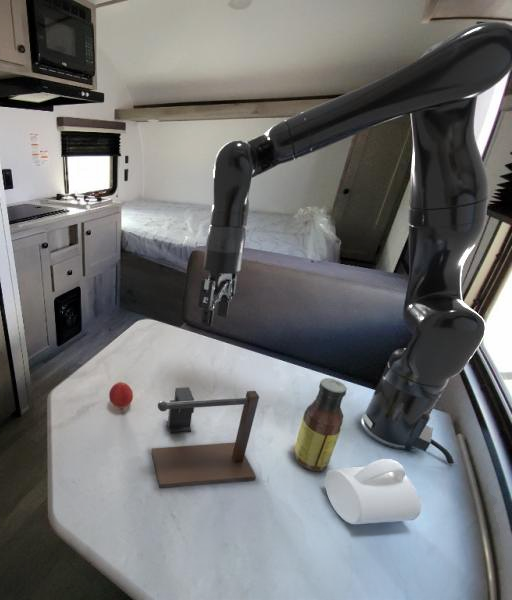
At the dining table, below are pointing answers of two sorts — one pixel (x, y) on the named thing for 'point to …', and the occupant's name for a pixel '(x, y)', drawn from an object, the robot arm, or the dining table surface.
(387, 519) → the mug
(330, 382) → the sauce bottle
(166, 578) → the dining table surface
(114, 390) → the red rounded oval body
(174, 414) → the grey hanging weight
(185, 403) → the rack
